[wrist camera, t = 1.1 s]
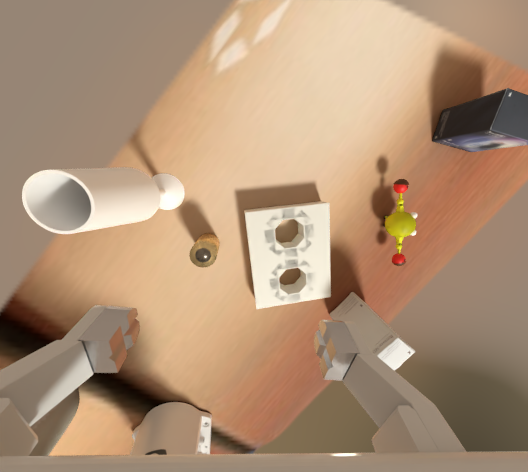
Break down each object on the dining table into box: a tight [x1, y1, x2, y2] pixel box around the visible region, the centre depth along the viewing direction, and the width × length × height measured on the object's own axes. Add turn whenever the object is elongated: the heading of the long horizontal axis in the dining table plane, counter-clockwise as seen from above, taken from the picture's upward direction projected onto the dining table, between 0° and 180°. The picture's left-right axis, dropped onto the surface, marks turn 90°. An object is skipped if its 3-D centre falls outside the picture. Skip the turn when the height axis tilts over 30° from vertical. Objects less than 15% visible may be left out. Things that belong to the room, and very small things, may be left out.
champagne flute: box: [22, 167, 185, 234], centre depth 27 cm, size 7×7×24 cm
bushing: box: [190, 233, 219, 267], centre depth 38 cm, size 4×4×7 cm
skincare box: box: [330, 292, 415, 370], centre depth 43 cm, size 8×6×15 cm
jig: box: [244, 201, 331, 309], centre depth 42 cm, size 20×16×4 cm
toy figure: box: [384, 179, 417, 266], centre depth 42 cm, size 18×6×7 cm, turn 8°
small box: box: [432, 88, 528, 152], centre depth 38 cm, size 11×6×10 cm, turn 79°
